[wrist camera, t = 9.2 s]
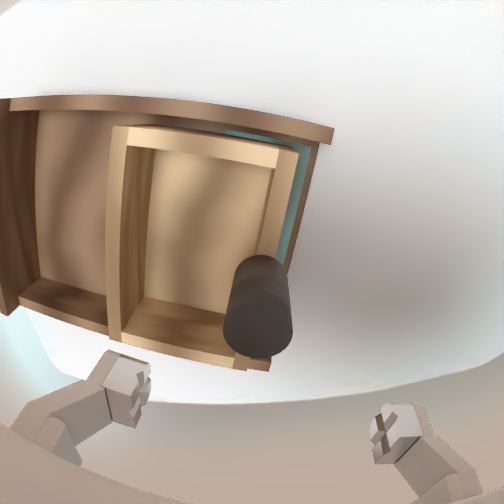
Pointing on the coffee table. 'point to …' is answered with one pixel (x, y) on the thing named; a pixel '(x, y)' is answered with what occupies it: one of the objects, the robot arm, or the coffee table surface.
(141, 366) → the robot arm
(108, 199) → the crate
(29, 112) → the bay
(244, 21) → the coffee table surface
